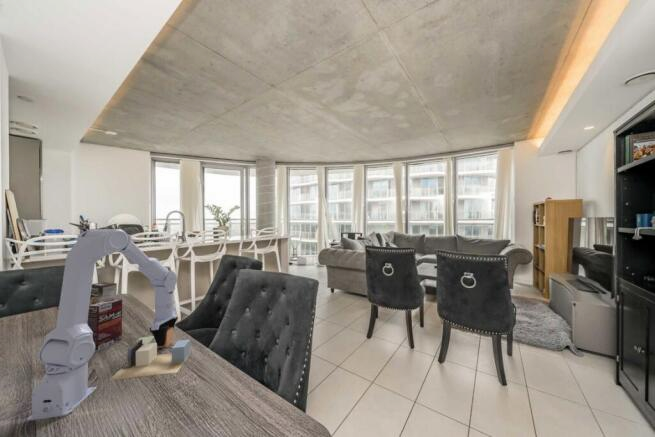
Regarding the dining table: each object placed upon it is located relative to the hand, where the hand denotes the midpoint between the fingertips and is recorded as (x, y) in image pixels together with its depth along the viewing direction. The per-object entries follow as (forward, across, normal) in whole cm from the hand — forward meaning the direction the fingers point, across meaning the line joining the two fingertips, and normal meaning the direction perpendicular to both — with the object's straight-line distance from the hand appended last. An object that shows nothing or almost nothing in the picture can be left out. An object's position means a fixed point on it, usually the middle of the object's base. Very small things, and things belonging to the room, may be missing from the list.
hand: (164, 341), depth 89 cm
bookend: (+1, -11, +4) cm, 12 cm away
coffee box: (+2, +35, +41) cm, 54 cm away
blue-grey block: (+1, -11, -10) cm, 15 cm away
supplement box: (+2, +4, +21) cm, 21 cm away
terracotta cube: (+1, 0, 0) cm, 1 cm away
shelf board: (+1, -14, -3) cm, 14 cm away
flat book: (+2, +3, +8) cm, 9 cm away
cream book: (+1, -11, 0) cm, 11 cm away
